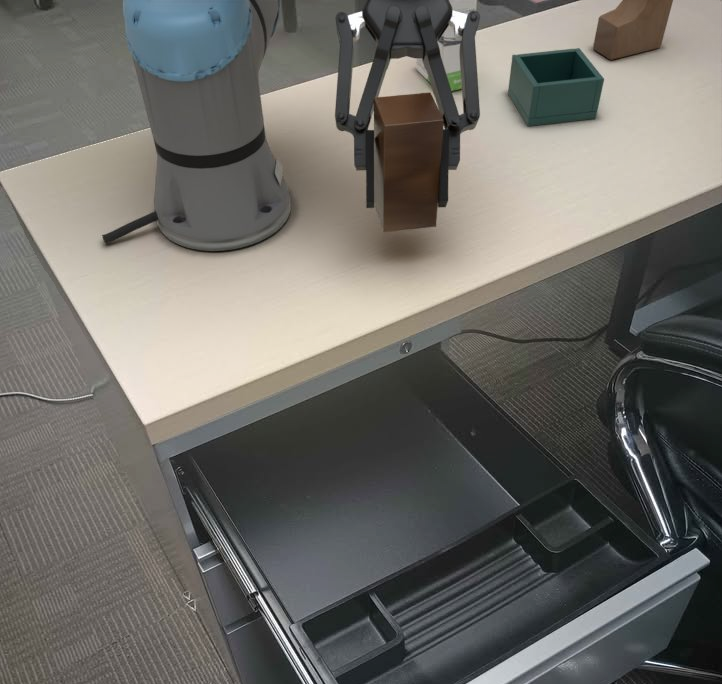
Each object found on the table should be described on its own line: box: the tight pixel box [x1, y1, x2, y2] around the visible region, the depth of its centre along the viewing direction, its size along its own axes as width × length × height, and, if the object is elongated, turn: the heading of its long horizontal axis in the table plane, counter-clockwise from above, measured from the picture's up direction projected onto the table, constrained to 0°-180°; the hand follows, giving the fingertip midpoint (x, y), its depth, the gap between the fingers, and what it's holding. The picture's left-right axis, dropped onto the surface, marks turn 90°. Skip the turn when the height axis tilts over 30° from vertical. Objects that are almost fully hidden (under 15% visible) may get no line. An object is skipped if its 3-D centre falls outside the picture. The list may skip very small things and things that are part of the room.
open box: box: [507, 47, 605, 127], centre depth 99 cm, size 9×9×5 cm
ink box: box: [415, 0, 478, 92], centre depth 102 cm, size 9×5×12 cm, turn 21°
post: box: [373, 91, 444, 233], centre depth 75 cm, size 6×6×11 cm
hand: (406, 204), depth 74 cm, fingers closed on post, 6 cm apart
